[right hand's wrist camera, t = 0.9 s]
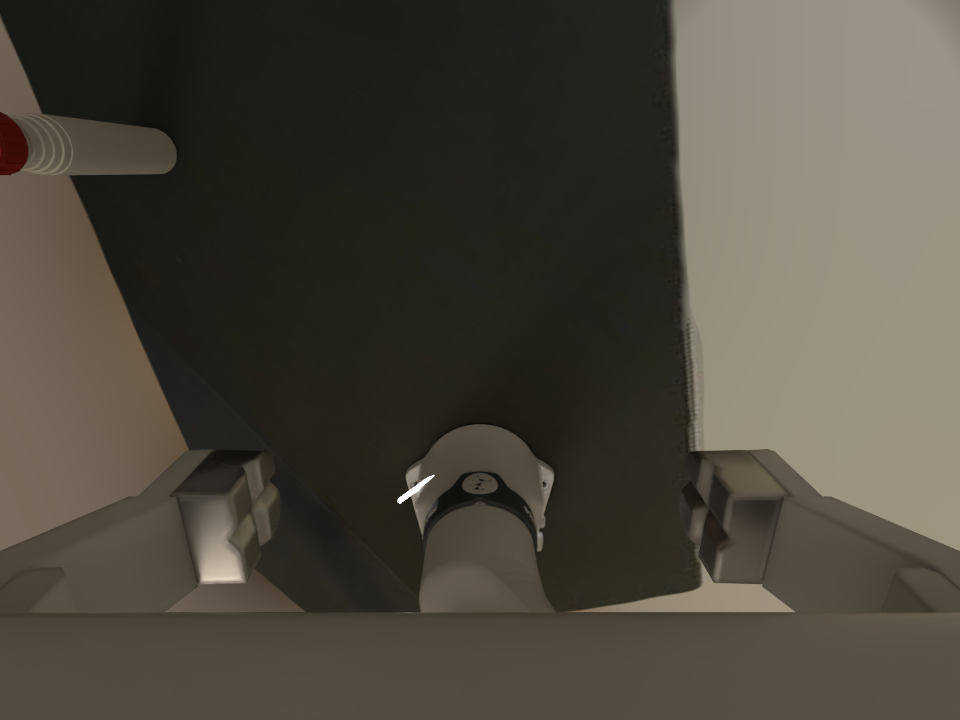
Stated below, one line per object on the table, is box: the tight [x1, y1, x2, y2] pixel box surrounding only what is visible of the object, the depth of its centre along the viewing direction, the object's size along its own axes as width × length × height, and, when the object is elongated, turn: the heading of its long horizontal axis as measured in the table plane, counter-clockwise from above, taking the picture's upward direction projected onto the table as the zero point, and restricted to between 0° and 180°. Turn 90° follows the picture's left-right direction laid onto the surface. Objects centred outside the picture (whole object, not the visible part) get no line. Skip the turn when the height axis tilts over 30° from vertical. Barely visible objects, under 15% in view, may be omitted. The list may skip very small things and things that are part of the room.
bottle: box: [8, 114, 177, 175], centre depth 43 cm, size 4×4×20 cm
